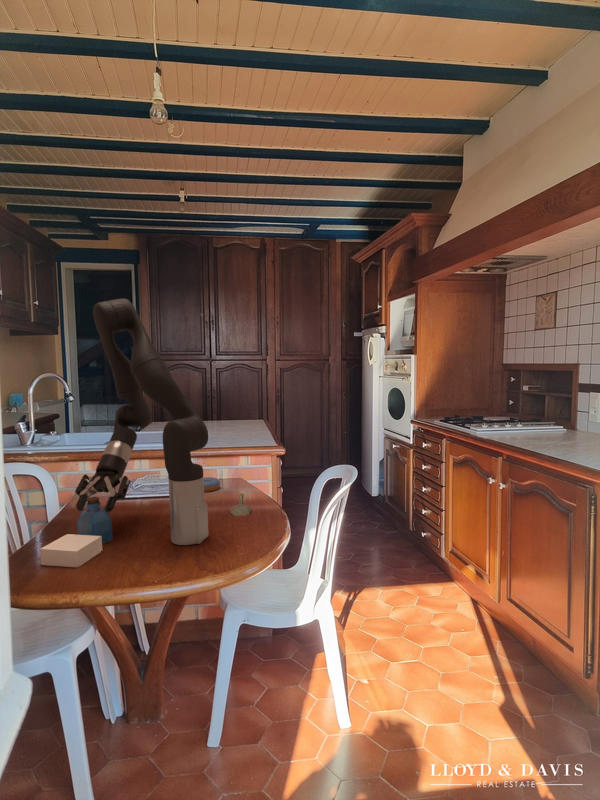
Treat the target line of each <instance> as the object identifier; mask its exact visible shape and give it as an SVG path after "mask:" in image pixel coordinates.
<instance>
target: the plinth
mask: <svg viewBox="0 0 600 800" xmlns="http://www.w3.org/2000/svg"><path fill="white" fill-rule="evenodd" d="M101 551H102V552H103V544H102V536H91V535H78V534H71V533H70V534H69V533H67V534H64V535H63V536H61V537H59V538H58V539H55V540H54V541H51V542H50V543H48V544H47V545H44V546H43V547H40V549H39V554H40V556H39V557H40V565H41V566H52V567H53V566H54V567H69V568H79V567H81V566H82V565H84V564H85V563H87V562H88V561H90V560H92V559H93V558H94V557H97V555H99V554H100V553H102V552H101Z"/></svg>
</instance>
